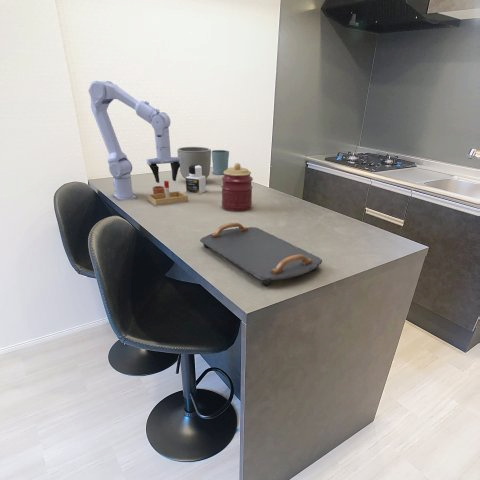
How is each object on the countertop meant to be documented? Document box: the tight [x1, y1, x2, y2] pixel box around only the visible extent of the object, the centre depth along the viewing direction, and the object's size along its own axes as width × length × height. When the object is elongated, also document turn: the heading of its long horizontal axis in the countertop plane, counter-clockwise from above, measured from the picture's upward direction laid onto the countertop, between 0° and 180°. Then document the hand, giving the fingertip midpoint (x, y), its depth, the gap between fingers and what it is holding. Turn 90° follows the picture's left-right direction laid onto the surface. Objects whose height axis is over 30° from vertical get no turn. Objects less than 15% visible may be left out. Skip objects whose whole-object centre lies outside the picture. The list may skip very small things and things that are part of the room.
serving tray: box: [199, 222, 323, 287], centre depth 107 cm, size 39×23×6 cm, turn 35°
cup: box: [152, 185, 165, 194], centre depth 162 cm, size 5×5×4 cm
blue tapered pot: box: [211, 149, 230, 176], centre depth 206 cm, size 10×10×12 cm
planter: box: [176, 146, 212, 180], centre depth 185 cm, size 17×17×16 cm
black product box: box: [185, 165, 207, 194], centre depth 169 cm, size 7×7×12 cm
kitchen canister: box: [221, 162, 254, 212], centre depth 147 cm, size 13×13×18 cm
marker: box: [163, 180, 170, 199], centre depth 155 cm, size 2×2×8 cm
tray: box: [147, 190, 189, 206], centre depth 157 cm, size 10×15×2 cm, turn 122°
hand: (166, 181), depth 153 cm, fingers open, 7 cm apart
